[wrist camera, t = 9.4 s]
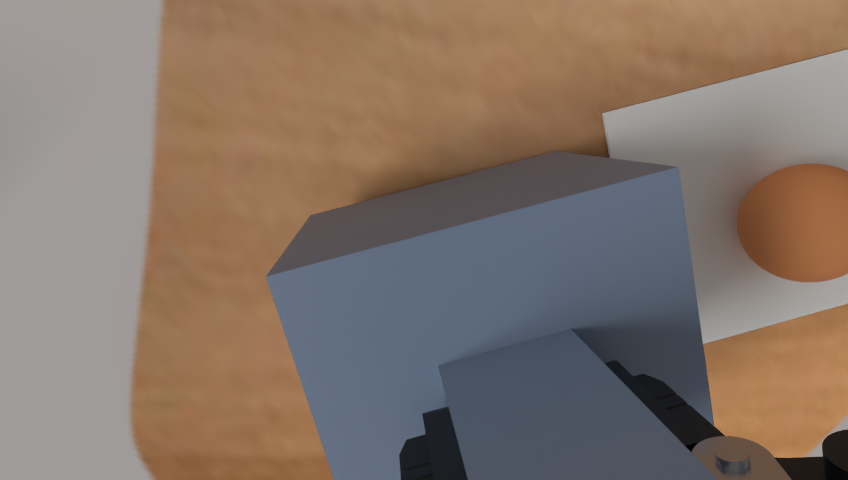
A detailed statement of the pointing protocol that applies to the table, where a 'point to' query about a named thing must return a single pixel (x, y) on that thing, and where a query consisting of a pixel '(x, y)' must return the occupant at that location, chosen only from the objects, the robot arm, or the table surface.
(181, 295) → the table surface
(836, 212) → the ball
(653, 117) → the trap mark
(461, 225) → the cover
